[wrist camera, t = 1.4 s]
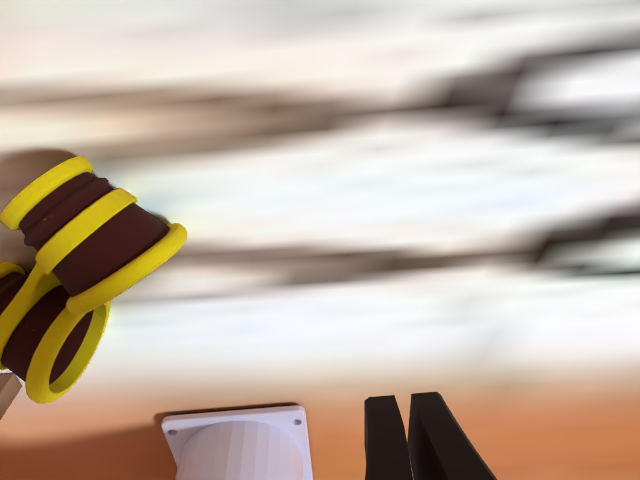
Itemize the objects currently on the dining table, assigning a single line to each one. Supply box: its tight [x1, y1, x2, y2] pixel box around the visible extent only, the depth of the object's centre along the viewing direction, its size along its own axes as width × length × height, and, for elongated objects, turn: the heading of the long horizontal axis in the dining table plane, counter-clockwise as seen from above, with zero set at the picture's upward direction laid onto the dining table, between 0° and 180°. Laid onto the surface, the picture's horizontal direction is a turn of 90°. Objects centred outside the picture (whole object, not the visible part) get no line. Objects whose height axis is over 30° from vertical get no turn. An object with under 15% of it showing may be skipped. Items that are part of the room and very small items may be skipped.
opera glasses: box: [0, 156, 187, 404], centre depth 17 cm, size 10×5×5 cm, turn 140°
